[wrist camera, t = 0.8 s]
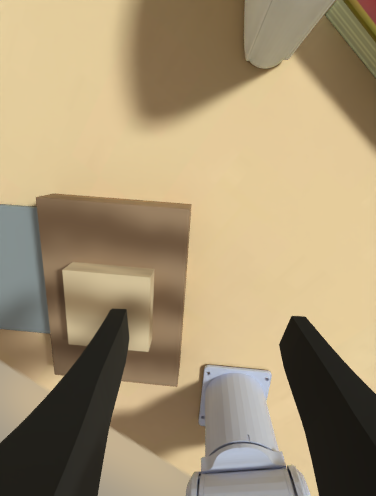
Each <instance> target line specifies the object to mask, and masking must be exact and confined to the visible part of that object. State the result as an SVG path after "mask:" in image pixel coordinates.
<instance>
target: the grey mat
mask: <svg viewBox="0 0 376 496" xmlns="http://www.w3.org/2000/svg"><path fill="white" fill-rule="evenodd" d="M0 329H7V330H18V331H28V332H39V333H49V334H50V325H49V316H48V306H47V297H46V288H45V278H44V269H43V260H42V250H41V241H40V232H39V223H38V213H37V207H31V206H18V205H6V204H0Z"/></svg>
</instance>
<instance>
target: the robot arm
mask: <svg viewBox="0 0 376 496" xmlns="http://www.w3.org/2000/svg"><path fill="white" fill-rule="evenodd" d="M128 346H129V328H128V318H127V309H113V308H112V309H111V310H110V311H109V313H108V315H107V316H106V318H105V320H104V321H103V323H102V325H101V326H100V328H99V329H98V331H97V332H96V334H95V335H94V337H93V338H92V340H91V341H90V343H89V344H88V345H87V347H86V348H85V350H84V351H83V353H82V354H81V355H80V357H79V358H78V359H77V360H76V362H75V363H74V364H73V366H72V367H71V368H70V369H69V371H68V372H67V373H66V375H65V376H64V377H63V378H62V379H61V381H60V382H59V383H58V384H57V385H56V386H55V388H54V389H53V390H52V391H51V392H50V393H49V394H48V395H47V397H46V398H45V399H44V400H43V401H42V402H41V403H40V404H39V405H38V406H37V408H35V409H34V410H33V411H32V413H31V414H30V415H29V416H28V417H27V418H26V419H25V420H24V421H23V422H22V423H21V424H20V425H19V426H18V427H17V428H16V429H15V430H14V431H13V432H12V433H10V434H9V435H8V436H7V437H6V438H5V439H4V440H3V441H2V442H1V443H0V496H97V495H98V489H99V482H100V477H101V471H102V465H103V459H104V453H105V448H106V442H107V436H108V431H109V426H110V421H111V417H112V413H113V409H114V406H115V402H116V398H117V394H118V391H119V387H120V383H121V379H122V375H123V371H124V368H125V364H126V358H127V352H128ZM279 346H280V351H281V356H282V361H283V366H284V369H285V373H286V376H287V379H288V382H289V385H290V388H291V391H292V394H293V397H294V400H295V403H296V406H297V409H298V412H299V415H300V418H301V421H302V424H303V427H304V431H305V434H306V438H307V442H308V447H309V451H310V455H311V459H312V464H313V468H314V473H315V478H316V482H317V487H318V492H319V496H376V394H375V393H374V392H373V391H372V390H371V389H370V388H369V387H368V386H367V385H366V384H365V383H364V382H363V381H362V380H361V379H360V378H359V377H358V376H357V375H356V374H355V373H354V372H353V371H352V369H351V368H350V367H349V366H348V365H347V364H346V363H345V362H344V361H343V360H342V359H341V357H340V356H339V355H338V354H337V353H336V352H335V351H334V350H333V349H332V347H331V346H330V345H329V344H328V343H327V342H326V340H325V339H324V338H323V337H322V336H321V335H320V333H319V332H318V331H317V330H316V329H315V327H314V326H313V325H312V324H311V323H310V322H309V320H308V319H307V318H306V317H302V316H291V319H290V321H289V323H288V325H287V328H286V330H285V332H284V335H283V337H282V339H281V342H280V344H279ZM207 372H210V373H207ZM271 376H272V375H271V372H270V371H267V370H257V369H247V368H237V367H226V366H216V365H206V366H205V367H204V376H203V385H202V394H201V403H200V413H199V425H201V426H205V457H202V458H201V472H194V473H193V475H192V477H191V479H190V480H189V482H188V485H187V489H186V496H311V495H310V492H309V489H308V486H307V483H306V481H305V478H304V476H303V474H302V473H301V472H300V471H299V470H297V469H296V467H295V466H294V465H287V468H286V464H285V461H284V457H283V453H282V452H281V451H279V449H278V445H277V442H276V438H275V434H274V430H273V426H272V422H271V418H270V415H269V411H268V407H267V403H266V401H267V396H268V391H269V386H270V381H271ZM265 378H267V379H265Z"/></svg>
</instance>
